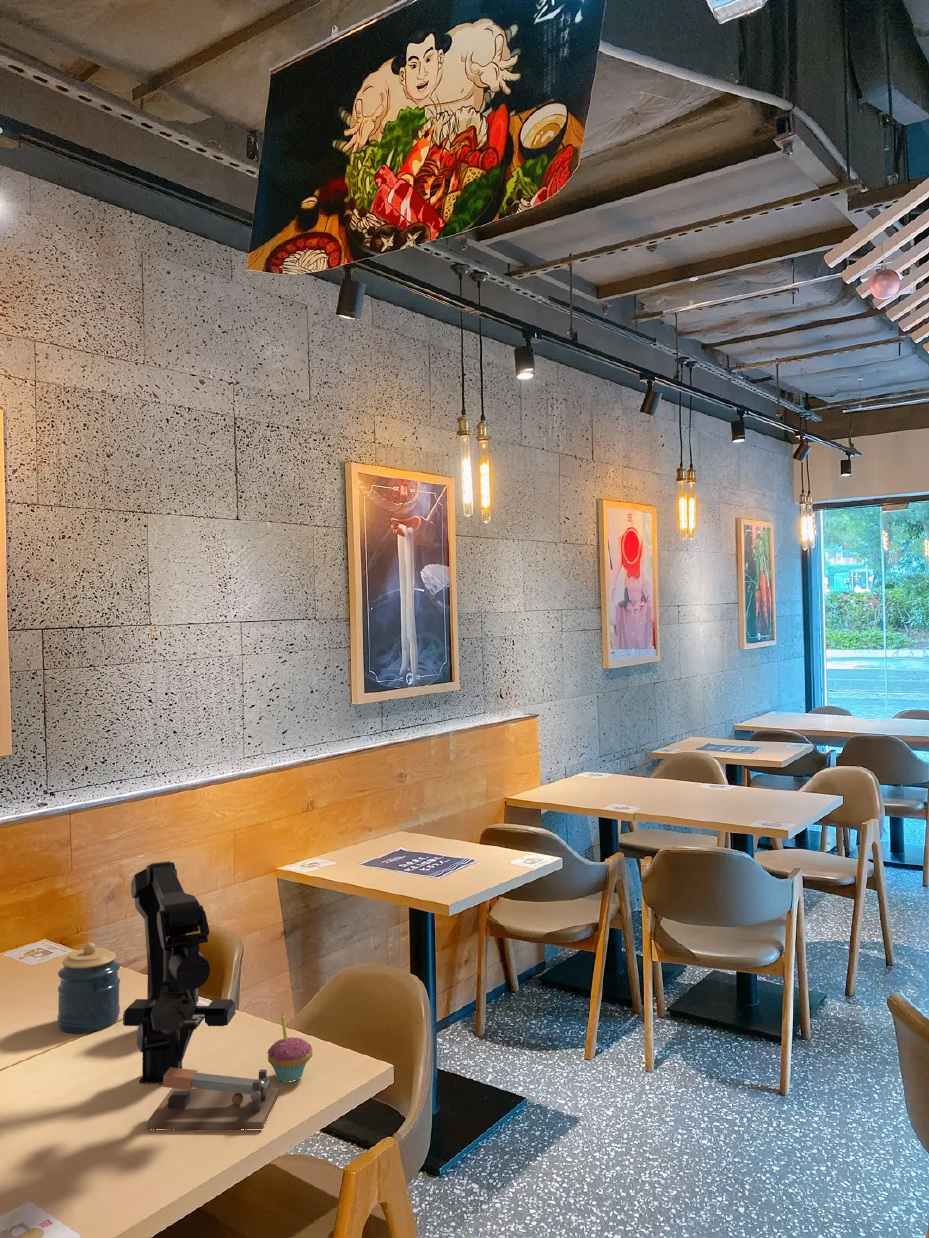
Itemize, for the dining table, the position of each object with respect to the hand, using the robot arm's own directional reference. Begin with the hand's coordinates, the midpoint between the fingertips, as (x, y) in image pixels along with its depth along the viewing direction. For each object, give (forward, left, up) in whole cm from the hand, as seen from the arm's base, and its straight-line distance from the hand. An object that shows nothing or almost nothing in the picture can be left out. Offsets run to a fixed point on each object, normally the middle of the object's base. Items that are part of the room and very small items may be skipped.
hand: (179, 1060), depth 161 cm
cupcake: (+17, +14, -9) cm, 24 cm away
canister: (-35, +40, -9) cm, 54 cm away
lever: (+7, 0, -5) cm, 8 cm away
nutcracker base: (+6, 0, -9) cm, 11 cm away
